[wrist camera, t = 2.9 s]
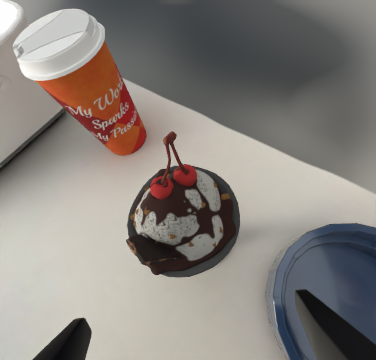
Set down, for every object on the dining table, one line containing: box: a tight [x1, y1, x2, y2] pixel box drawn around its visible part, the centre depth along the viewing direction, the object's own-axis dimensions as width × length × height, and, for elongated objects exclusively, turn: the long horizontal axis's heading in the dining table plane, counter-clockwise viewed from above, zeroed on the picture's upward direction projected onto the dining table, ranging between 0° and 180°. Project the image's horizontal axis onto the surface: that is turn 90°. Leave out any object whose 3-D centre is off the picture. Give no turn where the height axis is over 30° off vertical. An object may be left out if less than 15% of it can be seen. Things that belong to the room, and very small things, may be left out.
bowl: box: [266, 223, 376, 360], centre depth 15 cm, size 12×12×4 cm
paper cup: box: [13, 9, 146, 155], centre depth 23 cm, size 8×8×14 cm
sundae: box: [126, 131, 240, 277], centre depth 14 cm, size 7×7×15 cm
